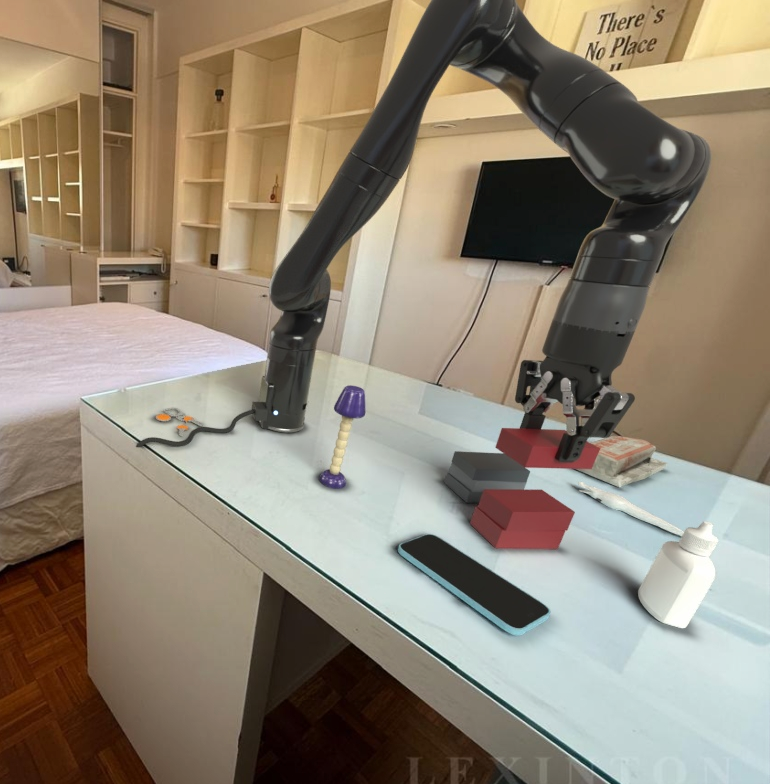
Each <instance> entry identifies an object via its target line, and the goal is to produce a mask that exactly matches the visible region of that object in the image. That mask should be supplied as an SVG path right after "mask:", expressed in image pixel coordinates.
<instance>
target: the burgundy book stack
mask: <svg viewBox="0 0 770 784" xmlns="http://www.w3.org/2000/svg"><path fill="white" fill-rule="evenodd" d="M575 514H576V511H574V510H573V509H571V507H568V506H567V505H566V504H565V503H563V502H561V501H559V500H558V499H557V498H555V497H554V496H552V495H551V494H549V493H548V492H546V491H545V490H544V489H524V490H523V489H484V490H483V493H482V496H481V499H480V502H479V503H478V505H477V506H475V507H474V510H473V513H472V516H471V519H470V522H469V524H470V525H471V526H472V527H473V528H474V529H475V530H476V531H477V532H478V533H479V534H480V535H481V536H482V537H483V538H484V539H485V540H486V541H487V542H488V543H489V544H490V545H491V546H492V547H493V548H494V549H507V550H508V549H509V550H511V549H512V550H514V549H515V550H517V549H518V550H519V549H520V550H522V549H523V550H558V549H559V547H560V545H561V543H562V540H563V539H564V536H565V533H566V532H567V531H568V529H569V527H570V525H571V523H572V521H573V519H574V516H575Z"/></svg>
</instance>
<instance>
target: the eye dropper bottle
mask: <svg viewBox="0 0 770 784" xmlns="http://www.w3.org/2000/svg"><path fill="white" fill-rule="evenodd" d="M713 528H714V524H713V523H711V522H709V521H705V520H704V521H702V522H701V524H699V526H698V527H697V526H696V527H693V526H690V527H686V528H685V530H684V533H683V535H682V536H680V539H679V541H674V540H668V541H665V542H664V543H663V544H662V546H661V547H660V548H659V551H658V552H657V554H656V556H655V557H654V560H653V561H652V564H651V565H650V567H649V569H648V571H647V573H646V574H645V577H644V578H643V580H642V583H641V584H640V585H639V588H638V590H637V594H638V595H637V596H638V599H639V601H640V603H641V605H642V606H643V608H644V609H645V610H646V611H647V612H648V613H649V614H650V615H651V616H652V617H653V618H655V619H656V620H657V621H659V622H660V623H662V624H664V625H668V626H672V627H674V628H675V627H676V628H679V629H685V628H687V627H688V625H689V623H690V622H691V620H692V619H693V617H694V615H695V614H696V612H697V610H698V608H699V607H700V605H701V603H702V602H703V600H704V598H705V596H706V595H707V594H708V592H709V590H710V588H711V586H712V584H713V582H714V580H715V578H716V568H715V565H714V563H713V560H712V559H711V557H710V556H711V555H712V553H713V551H714V549H715V548H716V546H717V544H718V543H719V538H718V537H717V536H715V534H713Z"/></svg>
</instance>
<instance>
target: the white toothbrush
mask: <svg viewBox="0 0 770 784" xmlns="http://www.w3.org/2000/svg"><path fill="white" fill-rule="evenodd" d="M577 485H578V486H580V488H584V489H579V490H578V492H580V493H583V494H587V495H589V496H590V497H591V498H593V499H595V500H597V501H598V502H599V503H601V504H603V505H604V506H606V507H608V508H610V509H613V510H617V511H620V512H623V513H625V514H628V515H629V516H632V517H634V518H636V519H638V520H640V521H643V522H646V523H648V524H651V525H654V526H656V527H659V528H661V529H662V530H665V531H666V532H670V533H672V534H675V535H677V536H680V537H682V535H683V533H684V532H685V530H682V529H681V528H679V527H677V526H675V525H674V524H671V523H669V522H668V521H666V520H664V519H662V518H660V517H658V516H656V515H654V514H652V513H650V512H648V511H647V510H644V509H643V508H641V507H639V506H637V505H635V504H633V502H630V501H629V500H628V499H626V497H623V496H622V495H619V494H617V493H613V492H609V491H605V490H603V489H601V488H598V487H595V486H592V485H588V484H586V483H585V482H583V481H578V483H577Z"/></svg>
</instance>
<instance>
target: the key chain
mask: <svg viewBox="0 0 770 784" xmlns="http://www.w3.org/2000/svg"><path fill="white" fill-rule="evenodd" d="M169 410H176V411H177V412H178V413H176V414H174V413H173V414H172V413H170V412H168V411H169ZM162 411H163V412H164V413H160V414H157V415H155V420H157V421H159V422H169V421H171V420H172V417H175V419H176V420H179V421H183V422H185V424H180V425H178V426H177V430H178V436H179V437H183V436H184V433H185V431H188V429H189V427H188V426H187V425H188V422H190V423H193V424H195V425H197V426H199V427H203V423H200V422H199V421H197V420H196V419H195V418H194V417H192V416H189V415H188V416H187V415H186V413H185V412H182V411H181V410H180V409H178V408H177V407H168V408H164V409H163V410H162Z"/></svg>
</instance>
